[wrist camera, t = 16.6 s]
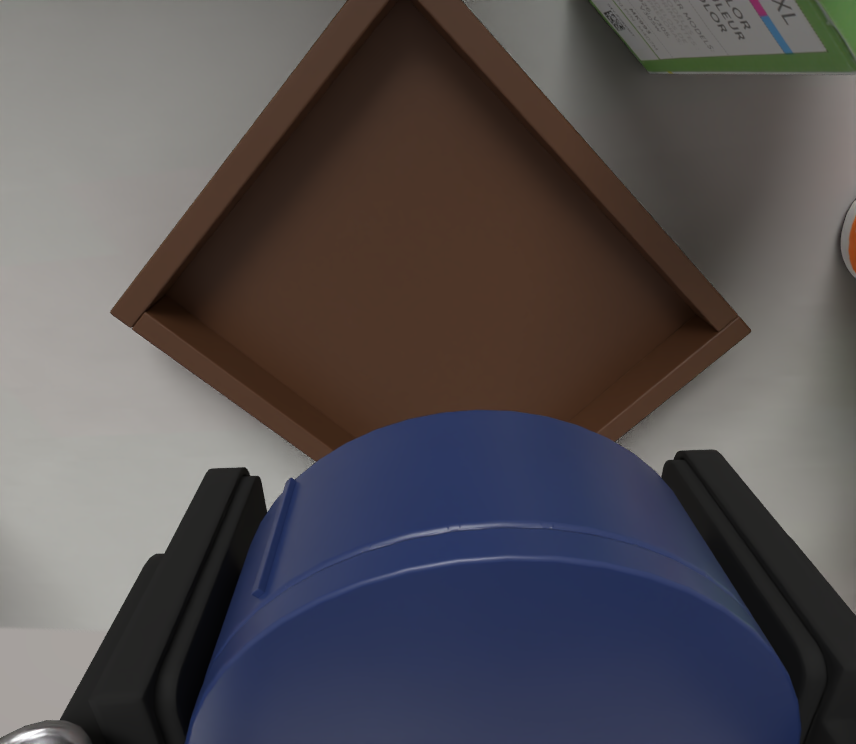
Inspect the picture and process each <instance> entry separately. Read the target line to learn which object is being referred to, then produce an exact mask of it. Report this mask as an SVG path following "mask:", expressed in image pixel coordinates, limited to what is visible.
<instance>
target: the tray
mask: <svg viewBox="0 0 856 744" xmlns="http://www.w3.org/2000/svg"><path fill="white" fill-rule="evenodd" d="M110 313H111V314H112V315H113V316H115V317H116V318H117V319H119V320H120V321H122V322H123V323H124V324H126V325H127V326H128V327H130V328H132V327H133V328H132V330H134V331H135V332H136V333H138V334H139V335H141V336H142V337H143V338H145V339H146V340H147V341H149V342H150V343H152V344H153V345H154V346H156V347H157V348H159V349H160V350H161V351H163V352H164V353H166V354H167V355H168V356H170V357H171V358H173V359H174V360H175V361H177V362H178V363H179V364H181V365H182V366H184V367H185V368H186V369H188V370H189V371H191V372H192V373H193V374H195V375H196V376H198V377H199V378H200V379H202V380H203V381H205V382H206V383H207V384H209V385H210V386H211V387H213V388H214V389H216V390H217V391H218V392H220V393H221V394H223V395H224V396H225V397H227V398H228V399H230V400H231V401H232V402H234V403H235V404H237V405H238V406H239V407H241V408H242V409H243V410H245V411H246V412H248V413H249V414H250V415H252V416H253V417H255V418H256V419H257V420H259V421H260V422H262V423H263V424H264V425H266V426H267V427H269V428H270V429H271V430H273V431H274V432H275V433H277V434H278V435H280V436H281V437H282V438H284V439H285V440H287V441H288V442H289V443H291V444H292V445H294V446H295V447H296V448H298V449H299V450H301V451H302V452H303V453H305V454H306V455H307V456H309V457H310V458H312V459H313V460H314V461H316V462H317V461H318V460H319V459H321V458H323V457H324V456H326V455H328V454H329V453H331V452H332V451H334V450H336V449H337V448H339V447H341V446H342V445H344V444H345V443H347V442H349V441H352V440H354V439H356V438H358V437H360V436H363V435H365V434H367V433H369V432H371V431H373V430H376V429H379V428H382V427H385V426H388V425H391V424H394V423H398V422H401V421H404V420H407V419H411V418H416V417H421V416H427V415H432V414H437V413H442V412H454V411H467V410H501V411H517V412H523V413H529V414H535V415H542V416H547V417H551V418H554V419H558V420H561V421H565V422H568V423H572V424H576V425H578V426H581V427H583V428H585V429H588V430H590V431H592V432H595V433H597V434H600V435H602V436H604V437H607V438H609V439H610V440H612V441H614V442H615V441H616V440H618V439H619V438H620V437H621V436H623V435H624V434H625V433H626V432H628V431H629V430H630V429H631V428H633V427H634V426H635V425H636V424H638V423H639V422H640V421H641V420H643V419H644V418H645V417H646V416H648V415H649V414H650V413H651V412H652V411H654V410H655V409H656V408H657V407H659V406H660V405H661V404H662V403H664V402H665V401H666V400H667V399H669V398H670V397H671V396H672V395H674V394H675V393H676V392H677V391H679V390H680V389H681V388H682V387H684V386H685V385H686V384H687V383H688V382H690V381H691V380H692V379H693V378H695V377H696V376H697V375H698V374H700V373H701V372H702V371H703V370H705V369H706V368H707V367H708V366H710V365H711V364H712V363H713V362H715V361H716V360H717V359H718V358H720V357H721V356H722V355H723V354H724V353H726V352H727V351H728V350H729V349H731V348H732V347H733V346H734V345H736V344H737V343H738V342H739V341H741V340H742V339H743V338H744V337H746V336H747V335H748V334H749V333H750V332H751V329H750V328H749V327H748V326H747V325H746V323H745V322H744V321H743V320H742V319H741V318H740V317H739V316H738V315H737V313H736V312H735V311H734V310H733V309H732V307H731V306H730V305H729V304H728V303H727V302H726V301H725V299H724V298H723V297H722V296H721V295H720V294H719V293H718V291H717V290H716V289H715V288H714V287H713V286H712V285H711V283H710V282H709V281H708V280H707V279H706V278H705V277H704V276H703V274H702V273H701V272H700V271H699V270H698V269H697V268H696V266H695V265H694V264H693V263H692V262H691V261H690V260H689V258H688V257H687V256H686V255H685V254H684V253H683V252H682V250H681V249H680V248H679V247H678V246H677V245H676V244H675V243H674V241H673V240H672V239H671V238H670V237H669V236H668V235H667V233H666V232H665V231H664V230H663V229H662V228H661V227H660V225H659V224H658V223H657V222H656V221H655V220H654V219H653V217H652V216H651V215H650V214H649V213H648V212H647V211H646V210H645V208H644V207H643V206H642V205H641V204H640V203H639V202H638V200H637V199H636V198H635V197H634V196H633V195H632V194H631V192H630V191H629V190H628V189H627V188H626V187H625V186H624V184H623V183H622V182H621V181H620V180H619V179H618V178H617V177H616V175H615V174H614V173H613V172H612V171H611V170H610V169H609V167H608V166H607V165H606V164H605V163H604V162H603V161H602V159H601V158H600V157H599V156H598V155H597V154H596V153H595V152H594V150H593V149H592V148H591V147H590V146H589V145H588V144H587V142H586V141H585V140H584V139H583V138H582V137H581V136H580V134H579V133H578V132H577V131H576V130H575V129H574V128H573V126H572V125H571V124H570V123H569V122H568V121H567V120H566V119H565V117H564V116H563V115H562V114H561V113H560V112H559V111H558V109H557V108H556V107H555V106H554V105H553V104H552V103H551V101H550V100H549V99H548V98H547V97H546V96H545V95H544V93H543V92H542V91H541V90H540V89H539V88H538V87H537V86H536V84H535V83H534V82H533V81H532V80H531V79H530V78H529V76H528V75H527V74H526V73H525V72H524V71H523V70H522V68H521V67H520V66H519V65H518V64H517V63H516V62H515V60H514V59H513V58H512V57H511V56H510V55H509V54H508V53H507V51H506V50H505V49H504V48H503V47H502V46H501V45H500V43H499V42H498V41H497V40H496V39H495V38H494V37H493V35H492V34H491V33H490V32H489V31H488V30H487V29H486V27H485V26H484V25H483V24H482V23H481V22H480V21H479V20H478V18H477V17H476V16H475V15H474V14H473V13H472V12H471V10H470V9H469V8H468V7H467V6H466V5H465V4H464V2H463V1H462V0H347V1H346V3H345V4H344V5H343V7H342V8H341V9H340V11H339V12H338V13H337V14H336V16H335V17H334V18H333V20H332V21H331V22H330V24H329V25H328V26H327V28H326V29H325V30H324V32H323V33H322V34H321V35H320V37H319V38H318V39H317V41H316V42H315V43H314V45H313V46H312V47H311V49H310V50H309V51H308V53H307V54H306V55H305V56H304V58H303V59H302V60H301V62H300V63H299V64H298V66H297V67H296V68H295V70H294V71H293V72H292V73H291V75H290V76H289V77H288V79H287V80H286V81H285V83H284V84H283V85H282V87H281V88H280V89H279V91H278V92H277V93H276V94H275V96H274V97H273V98H272V100H271V101H270V102H269V104H268V105H267V106H266V108H265V109H264V110H263V112H262V113H261V114H260V115H259V117H258V118H257V119H256V121H255V122H254V123H253V125H252V126H251V127H250V129H249V130H248V131H247V133H246V134H245V135H244V136H243V138H242V139H241V140H240V142H239V143H238V144H237V146H236V147H235V148H234V150H233V151H232V152H231V154H230V155H229V156H228V157H227V159H226V160H225V161H224V163H223V164H222V165H221V167H220V168H219V169H218V171H217V172H216V173H215V175H214V176H213V177H212V178H211V180H210V181H209V182H208V184H207V185H206V186H205V188H204V189H203V190H202V192H201V193H200V194H199V196H198V197H197V198H196V199H195V201H194V202H193V203H192V205H191V206H190V207H189V209H188V210H187V211H186V213H185V214H184V215H183V216H182V218H181V219H180V220H179V222H178V223H177V224H176V226H175V227H174V228H173V230H172V231H171V232H170V234H169V235H168V236H167V237H166V239H165V240H164V241H163V243H162V244H161V245H160V247H159V248H158V249H157V251H156V252H155V253H154V255H153V256H152V257H151V258H150V260H149V261H148V262H147V264H146V265H145V266H144V268H143V269H142V270H141V272H140V273H139V274H138V276H137V277H136V278H135V279H134V281H133V282H132V283H131V285H130V286H129V287H128V289H127V290H126V291H125V293H124V294H123V295H122V297H121V298H120V299H119V300H118V302H117V303H116V304H115V306H114V307H113V308H112V310H111V312H110Z"/></svg>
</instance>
